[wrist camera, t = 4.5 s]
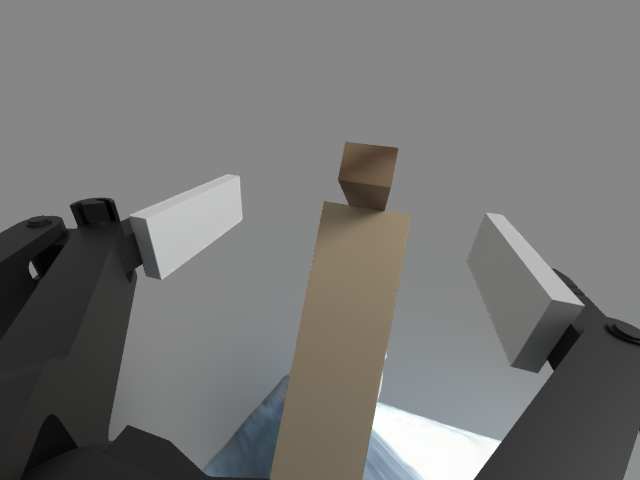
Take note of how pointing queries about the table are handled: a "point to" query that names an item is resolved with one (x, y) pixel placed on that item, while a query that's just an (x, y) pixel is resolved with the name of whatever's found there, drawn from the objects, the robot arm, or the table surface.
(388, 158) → the brown rectangular bar
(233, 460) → the table surface
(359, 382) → the carton
